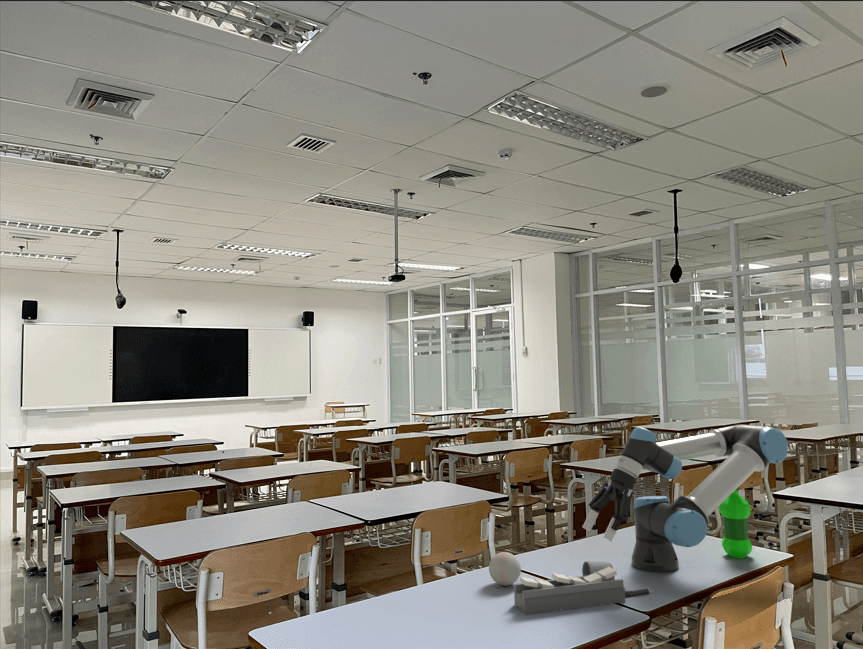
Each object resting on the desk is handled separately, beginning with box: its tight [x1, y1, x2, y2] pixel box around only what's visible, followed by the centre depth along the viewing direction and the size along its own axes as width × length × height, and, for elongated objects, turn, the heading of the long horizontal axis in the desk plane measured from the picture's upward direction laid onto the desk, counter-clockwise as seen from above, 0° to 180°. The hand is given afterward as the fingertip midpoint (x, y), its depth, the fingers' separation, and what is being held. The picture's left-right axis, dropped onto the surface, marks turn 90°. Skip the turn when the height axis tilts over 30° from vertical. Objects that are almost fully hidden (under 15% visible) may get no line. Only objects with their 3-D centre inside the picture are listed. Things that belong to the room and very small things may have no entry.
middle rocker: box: [551, 572, 586, 585], centre depth 183 cm, size 9×4×1 cm, turn 104°
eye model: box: [488, 551, 522, 587], centre depth 200 cm, size 10×10×10 cm
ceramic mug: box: [581, 560, 616, 580], centre depth 198 cm, size 11×8×8 cm
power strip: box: [513, 575, 650, 616], centre depth 184 cm, size 41×8×6 cm, turn 104°
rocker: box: [583, 567, 618, 583], centre depth 185 cm, size 9×4×1 cm, turn 104°
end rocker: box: [519, 576, 554, 588], centre depth 181 cm, size 9×4×1 cm, turn 104°
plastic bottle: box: [718, 485, 753, 559], centre depth 224 cm, size 10×10×25 cm
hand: (596, 534), depth 196 cm, fingers open, 13 cm apart
